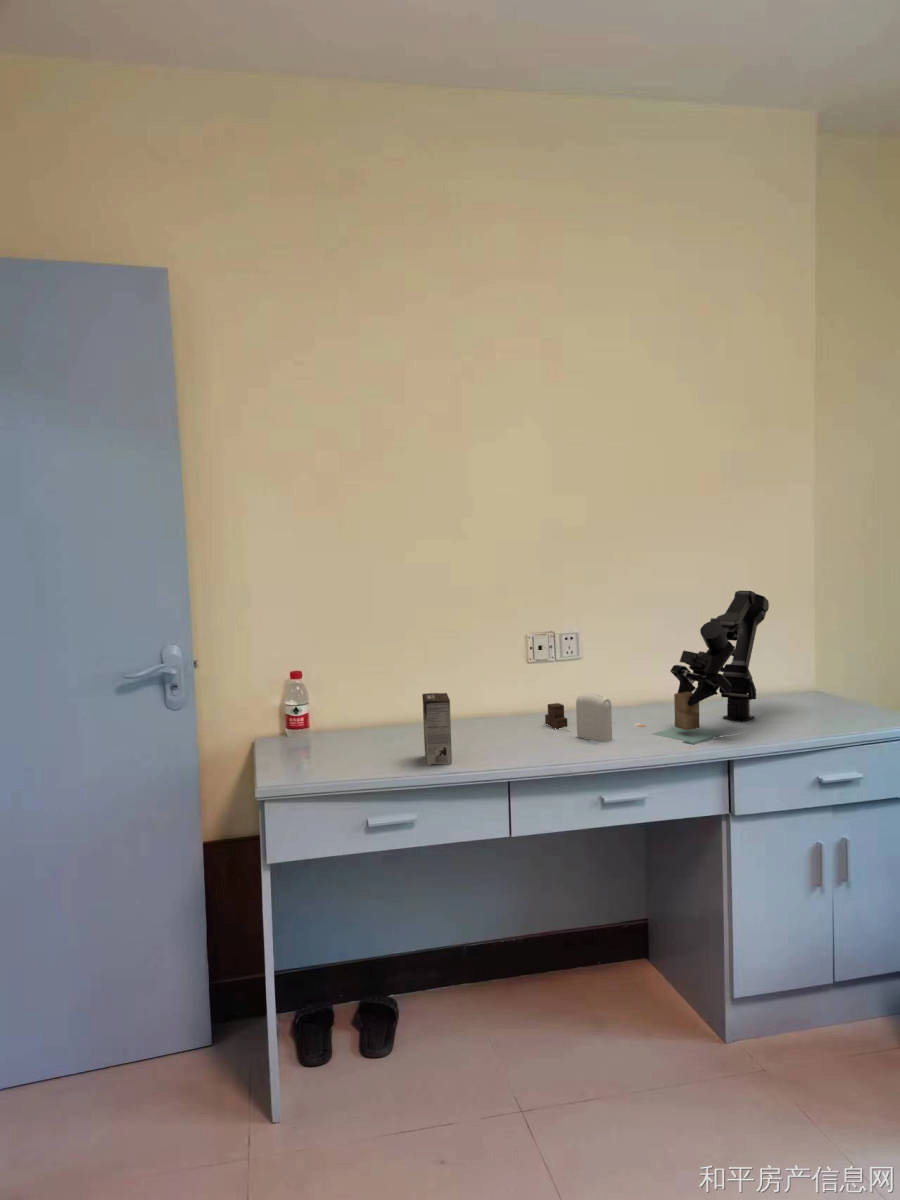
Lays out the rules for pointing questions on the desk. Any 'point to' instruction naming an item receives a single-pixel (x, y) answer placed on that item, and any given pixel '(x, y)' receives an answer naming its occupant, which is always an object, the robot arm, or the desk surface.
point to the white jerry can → (594, 717)
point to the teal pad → (688, 734)
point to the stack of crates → (556, 716)
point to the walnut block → (686, 712)
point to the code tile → (639, 725)
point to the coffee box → (437, 728)
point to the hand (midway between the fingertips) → (682, 703)
